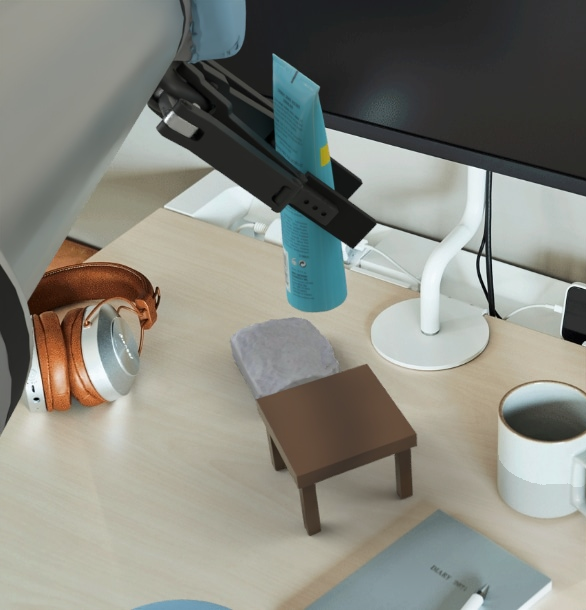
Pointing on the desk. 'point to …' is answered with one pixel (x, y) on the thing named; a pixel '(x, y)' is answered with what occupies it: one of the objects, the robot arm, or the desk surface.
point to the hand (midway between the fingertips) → (356, 212)
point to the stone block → (282, 355)
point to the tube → (295, 227)
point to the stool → (336, 433)
